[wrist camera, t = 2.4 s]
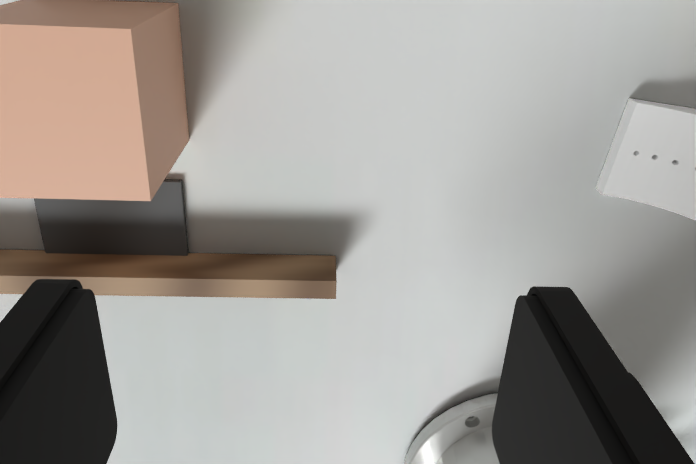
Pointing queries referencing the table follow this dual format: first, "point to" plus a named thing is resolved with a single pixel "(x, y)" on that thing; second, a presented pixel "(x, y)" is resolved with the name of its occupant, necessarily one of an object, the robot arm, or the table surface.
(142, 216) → the frame
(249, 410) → the table surface
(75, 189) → the terracotta block
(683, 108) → the headphone stand
